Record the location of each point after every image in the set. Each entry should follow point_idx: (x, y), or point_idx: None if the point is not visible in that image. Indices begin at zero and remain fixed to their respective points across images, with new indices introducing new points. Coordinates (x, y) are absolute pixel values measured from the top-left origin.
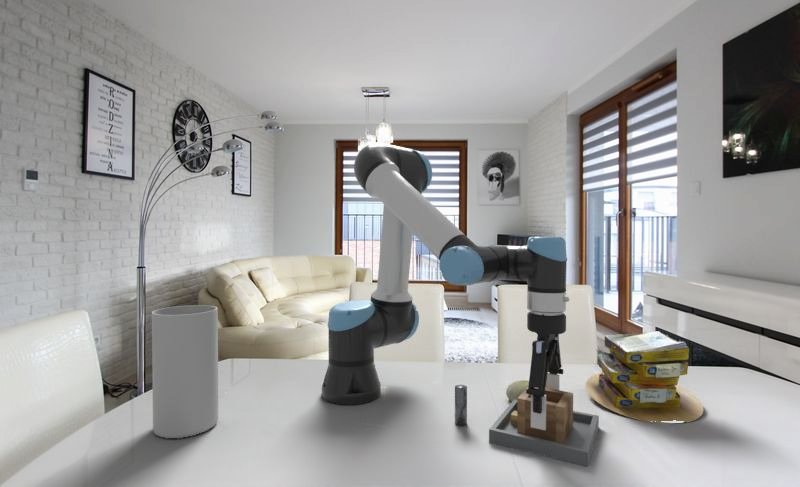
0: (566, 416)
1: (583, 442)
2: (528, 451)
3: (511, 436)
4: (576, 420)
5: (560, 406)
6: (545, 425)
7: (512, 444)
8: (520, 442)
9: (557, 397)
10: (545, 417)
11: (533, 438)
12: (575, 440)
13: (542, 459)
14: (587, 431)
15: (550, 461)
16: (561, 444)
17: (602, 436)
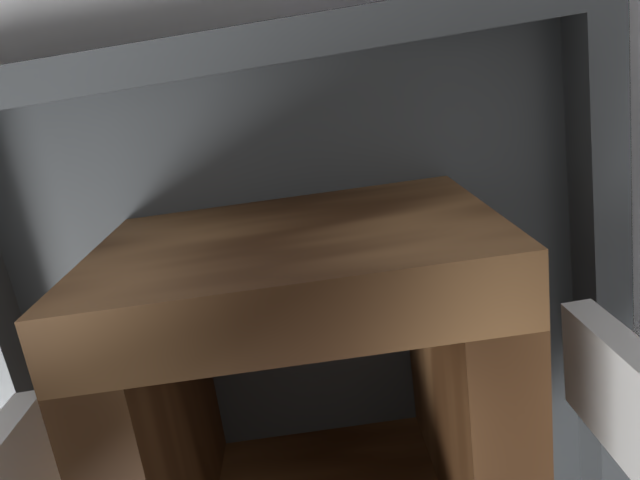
0: (398, 228)
1: (340, 76)
2: None
3: None
4: (1, 233)
5: (539, 291)
6: (599, 313)
7: None
8: None
9: (154, 422)
10: (634, 343)
11: None
12: (345, 131)
13: (634, 226)
14: (135, 108)
15: (633, 182)
16: (600, 157)
17: (63, 16)
